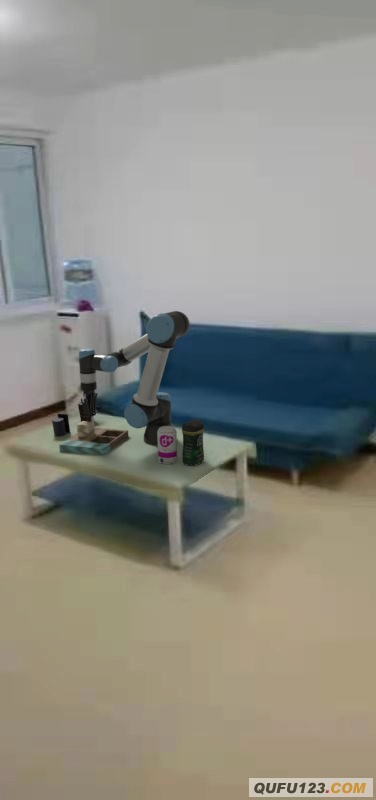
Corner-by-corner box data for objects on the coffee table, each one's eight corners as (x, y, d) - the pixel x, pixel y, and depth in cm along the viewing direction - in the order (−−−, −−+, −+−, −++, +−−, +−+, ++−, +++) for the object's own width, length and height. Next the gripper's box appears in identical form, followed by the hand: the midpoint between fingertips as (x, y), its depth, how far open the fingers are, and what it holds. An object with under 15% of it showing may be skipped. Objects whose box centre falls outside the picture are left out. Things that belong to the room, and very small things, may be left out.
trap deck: (128, 436, 305) (128, 430, 304) (103, 455, 279) (103, 448, 278) (87, 432, 312) (87, 427, 311) (59, 450, 286) (59, 444, 285)
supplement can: (175, 465, 265) (174, 431, 261) (156, 464, 267) (155, 430, 263) (178, 458, 273) (178, 425, 269) (160, 457, 274) (159, 425, 271)
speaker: (62, 430, 315) (60, 411, 311) (70, 432, 312) (68, 413, 308) (51, 436, 309) (49, 416, 305) (59, 438, 306) (57, 418, 302)
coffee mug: (76, 422, 328) (75, 404, 326) (81, 418, 337) (80, 400, 334) (97, 423, 326) (96, 405, 324) (102, 419, 335) (101, 400, 332)
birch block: (94, 433, 300) (94, 421, 298) (89, 437, 294) (88, 425, 292) (83, 432, 301) (82, 421, 300) (77, 436, 296) (76, 424, 294)
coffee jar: (195, 467, 262) (194, 425, 258) (179, 464, 267) (178, 422, 262) (207, 460, 270) (206, 419, 265) (192, 457, 274) (191, 416, 270)
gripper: (87, 377, 303) (90, 424, 309) (74, 384, 291) (77, 432, 297) (101, 378, 301) (104, 425, 307) (89, 385, 289) (91, 433, 295)
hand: (91, 428), depth 302 cm, fingers closed
